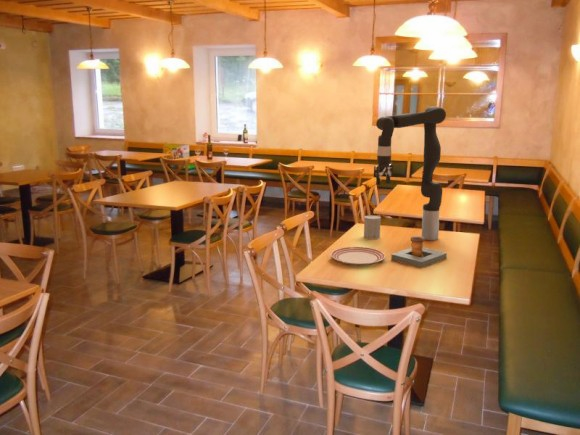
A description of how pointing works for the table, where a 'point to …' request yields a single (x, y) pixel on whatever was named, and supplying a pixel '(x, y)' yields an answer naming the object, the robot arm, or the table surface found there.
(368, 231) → the speckled tan cylinder
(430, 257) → the grey rectangular frame
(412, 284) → the table surface
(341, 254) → the dinner plate
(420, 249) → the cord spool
